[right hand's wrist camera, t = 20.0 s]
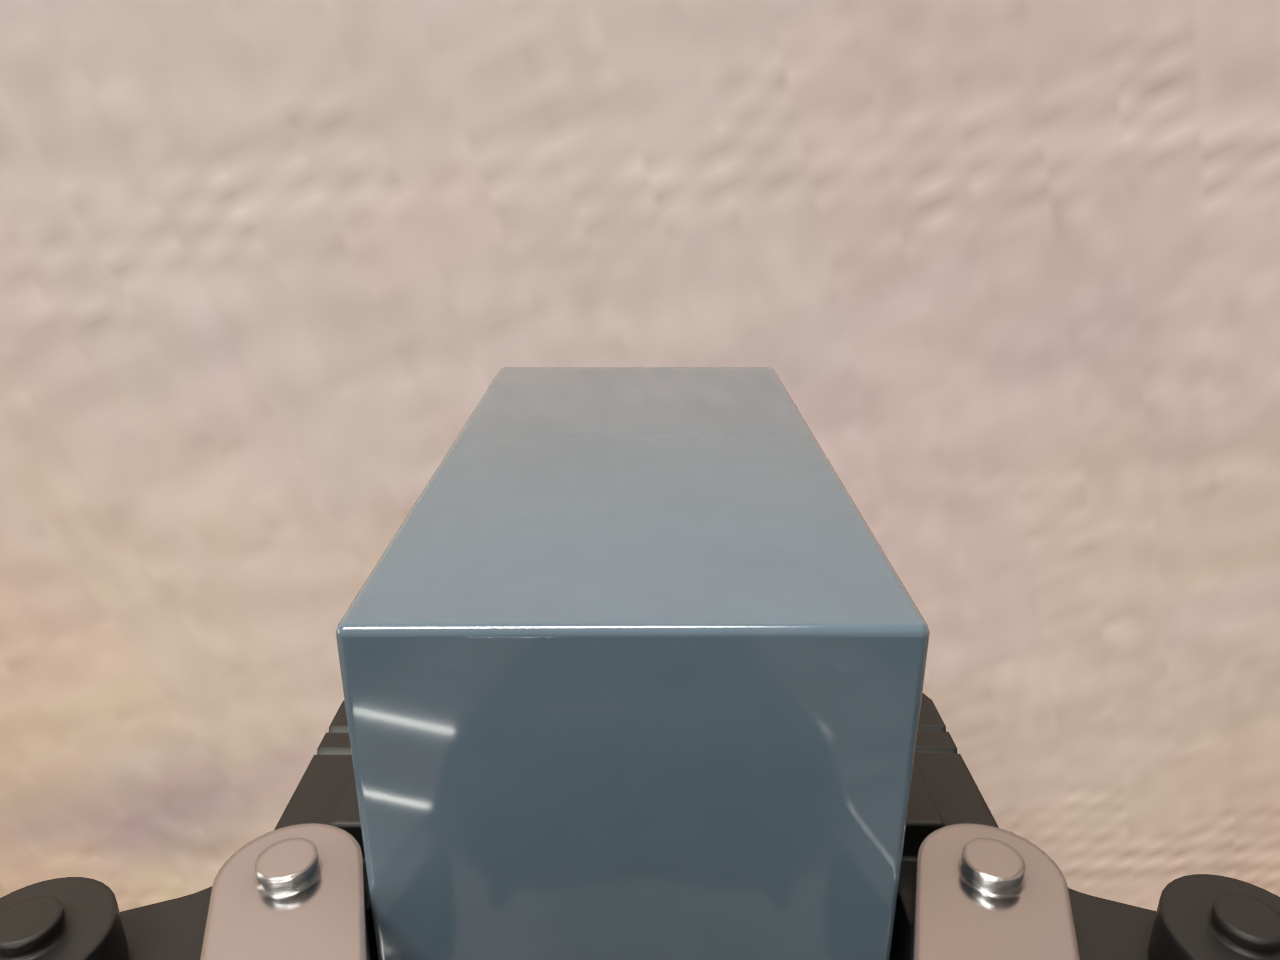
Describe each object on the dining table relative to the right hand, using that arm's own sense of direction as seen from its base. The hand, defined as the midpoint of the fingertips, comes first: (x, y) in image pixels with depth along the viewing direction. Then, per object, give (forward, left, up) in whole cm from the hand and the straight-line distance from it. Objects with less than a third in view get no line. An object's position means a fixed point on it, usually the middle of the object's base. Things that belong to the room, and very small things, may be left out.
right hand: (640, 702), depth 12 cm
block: (0, 0, -4) cm, 4 cm away
